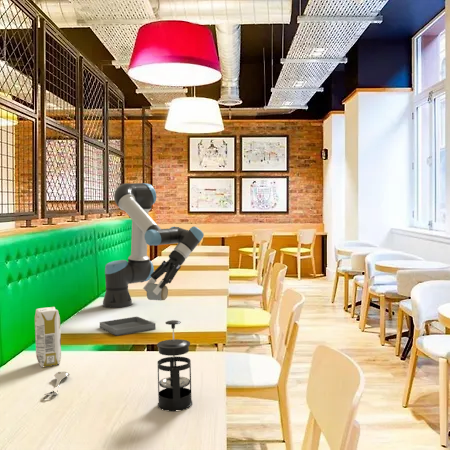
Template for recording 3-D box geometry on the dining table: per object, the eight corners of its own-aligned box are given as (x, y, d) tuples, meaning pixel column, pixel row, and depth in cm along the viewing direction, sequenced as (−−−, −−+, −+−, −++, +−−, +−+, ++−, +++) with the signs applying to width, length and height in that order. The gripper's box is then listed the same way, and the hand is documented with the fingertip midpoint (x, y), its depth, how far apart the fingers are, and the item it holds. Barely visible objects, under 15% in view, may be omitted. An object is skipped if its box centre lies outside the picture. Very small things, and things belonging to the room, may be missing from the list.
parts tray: (99, 327, 240) (99, 322, 240) (137, 321, 250) (137, 316, 250) (116, 335, 225) (116, 329, 225) (155, 329, 235) (155, 323, 235)
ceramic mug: (162, 301, 248) (162, 285, 248) (146, 301, 251) (146, 284, 250) (171, 297, 259) (171, 281, 258) (155, 297, 261) (155, 281, 261)
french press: (156, 399, 153) (154, 317, 152) (190, 396, 155) (188, 315, 154) (158, 415, 142) (156, 327, 140) (195, 412, 143) (192, 325, 142)
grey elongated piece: (57, 386, 154) (40, 387, 154) (57, 399, 154) (40, 400, 154) (71, 368, 174) (56, 369, 174) (71, 380, 174) (56, 380, 174)
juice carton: (39, 368, 183) (37, 312, 182) (35, 362, 191) (33, 308, 190) (62, 365, 186) (60, 310, 185) (57, 358, 194) (55, 305, 193)
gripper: (196, 262, 252) (166, 300, 244) (173, 257, 270) (144, 293, 262) (186, 251, 248) (155, 290, 240) (163, 247, 266) (134, 283, 258)
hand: (149, 291), depth 251 cm, fingers closed on ceramic mug, 9 cm apart
